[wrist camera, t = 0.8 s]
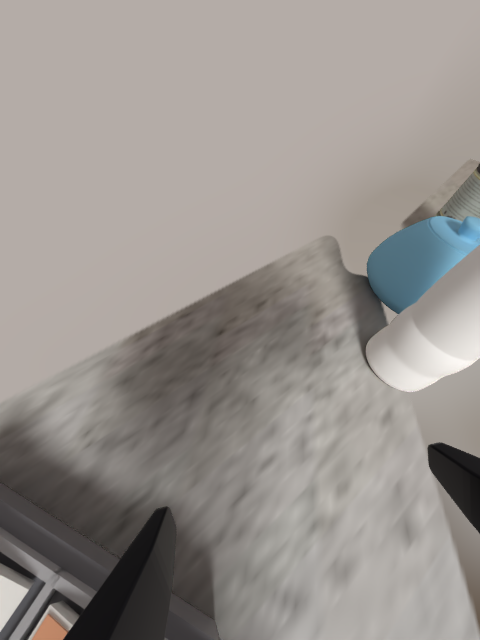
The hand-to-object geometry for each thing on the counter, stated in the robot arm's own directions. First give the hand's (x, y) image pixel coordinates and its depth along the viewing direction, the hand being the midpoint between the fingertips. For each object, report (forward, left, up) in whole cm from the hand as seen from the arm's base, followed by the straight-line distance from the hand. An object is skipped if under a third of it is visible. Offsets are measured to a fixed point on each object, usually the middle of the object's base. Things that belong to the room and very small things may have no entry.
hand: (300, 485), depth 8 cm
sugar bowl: (+34, -13, -13) cm, 38 cm away
